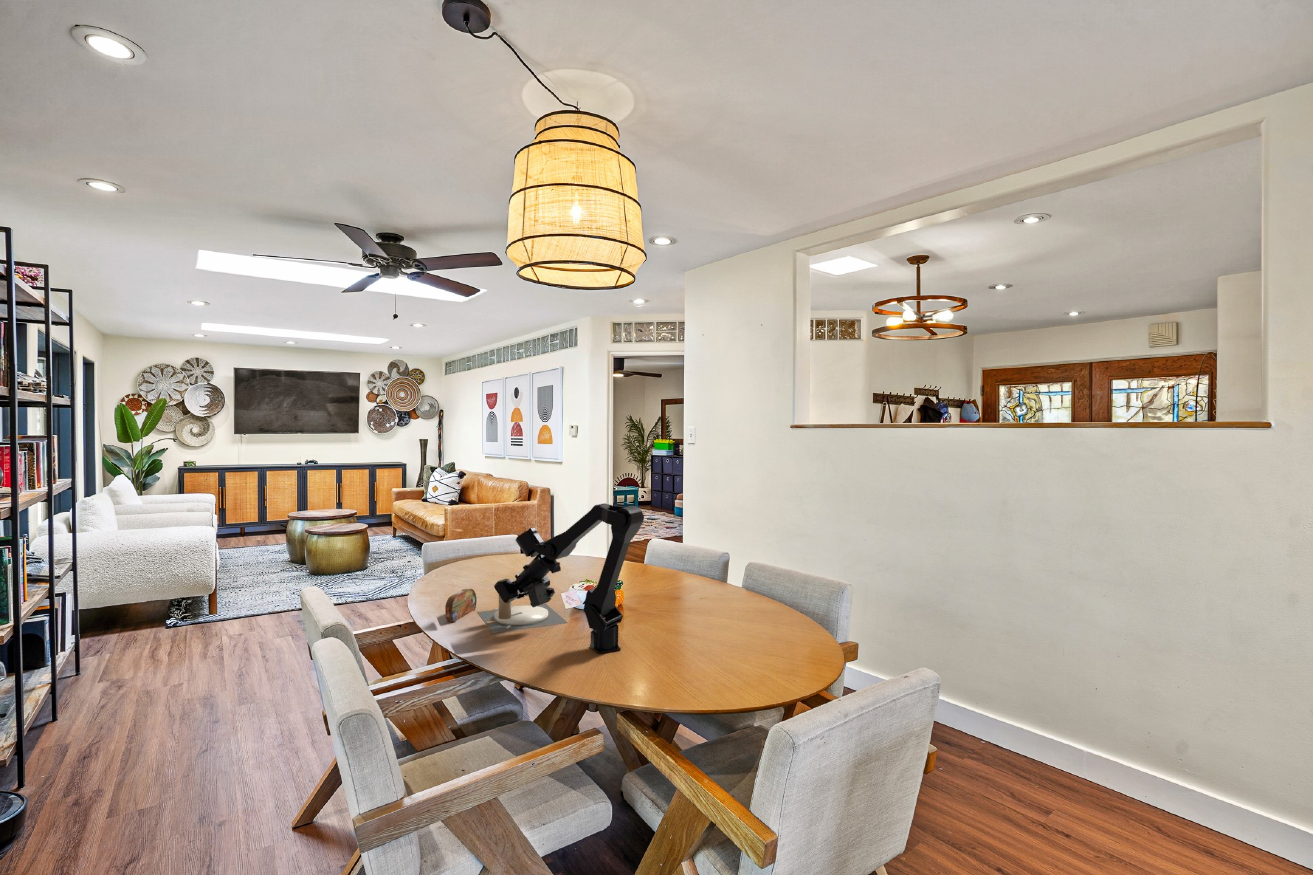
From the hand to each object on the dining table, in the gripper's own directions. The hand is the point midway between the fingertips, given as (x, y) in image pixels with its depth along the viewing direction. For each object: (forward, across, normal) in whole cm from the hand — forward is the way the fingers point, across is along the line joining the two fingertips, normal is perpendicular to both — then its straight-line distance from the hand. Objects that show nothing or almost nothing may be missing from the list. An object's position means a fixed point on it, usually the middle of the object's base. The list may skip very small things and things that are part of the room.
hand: (507, 601), depth 185 cm
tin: (+18, -1, +6) cm, 19 cm away
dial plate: (+6, +7, -5) cm, 10 cm away
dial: (+5, +7, -4) cm, 9 cm away
